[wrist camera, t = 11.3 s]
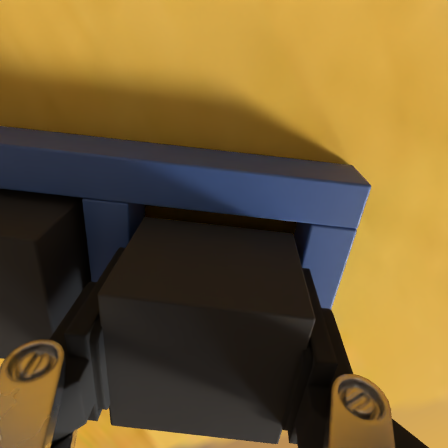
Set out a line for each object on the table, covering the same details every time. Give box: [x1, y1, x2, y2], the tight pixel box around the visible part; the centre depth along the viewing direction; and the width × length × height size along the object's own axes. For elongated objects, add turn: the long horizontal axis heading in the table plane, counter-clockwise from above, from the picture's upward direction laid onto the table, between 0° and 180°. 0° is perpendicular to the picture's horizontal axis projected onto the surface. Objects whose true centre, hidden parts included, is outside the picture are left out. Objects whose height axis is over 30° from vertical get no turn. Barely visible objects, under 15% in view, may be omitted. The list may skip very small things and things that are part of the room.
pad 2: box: [98, 217, 316, 444], centre depth 10 cm, size 5×5×4 cm
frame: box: [0, 126, 371, 310], centre depth 13 cm, size 9×16×2 cm, turn 85°
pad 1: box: [0, 189, 92, 359], centre depth 12 cm, size 5×5×4 cm
